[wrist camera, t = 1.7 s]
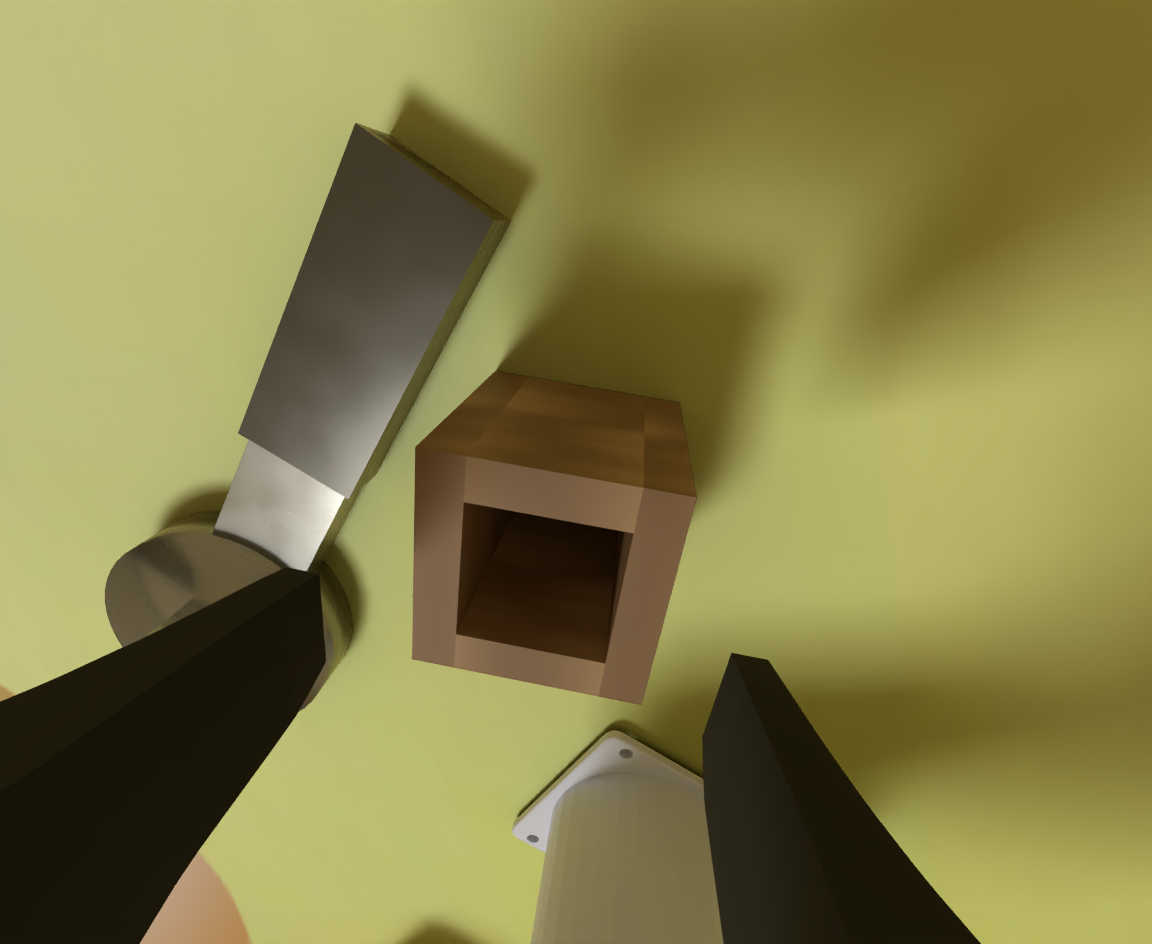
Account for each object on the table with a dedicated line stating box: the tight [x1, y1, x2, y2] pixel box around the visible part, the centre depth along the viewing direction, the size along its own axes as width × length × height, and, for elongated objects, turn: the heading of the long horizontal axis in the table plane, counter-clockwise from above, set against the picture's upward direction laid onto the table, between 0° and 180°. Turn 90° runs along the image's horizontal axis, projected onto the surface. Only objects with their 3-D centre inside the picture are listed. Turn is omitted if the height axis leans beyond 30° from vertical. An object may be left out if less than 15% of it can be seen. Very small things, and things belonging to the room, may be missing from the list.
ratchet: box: [105, 123, 511, 712], centre depth 16 cm, size 21×8×6 cm, turn 147°
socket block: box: [412, 371, 697, 705], centre depth 14 cm, size 5×5×6 cm
